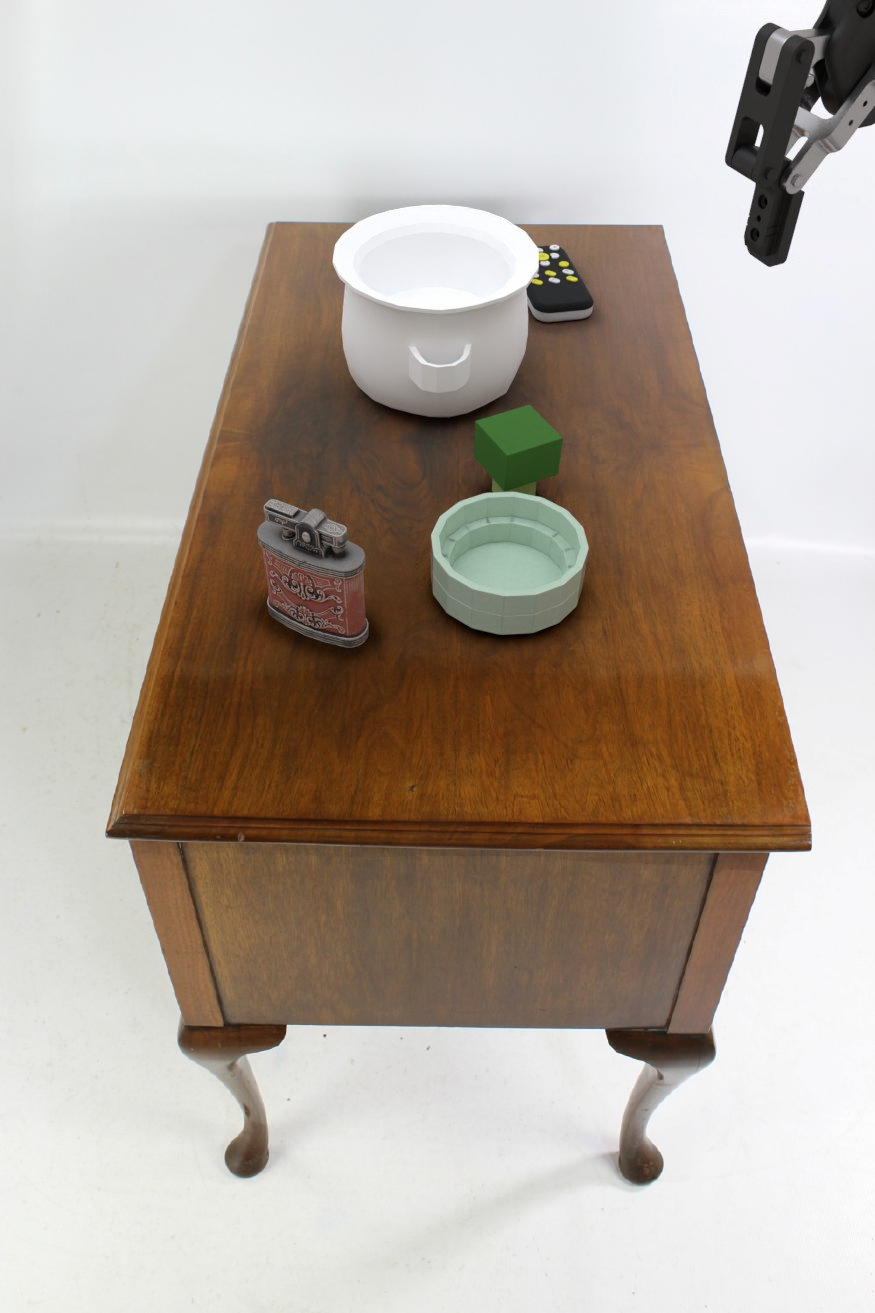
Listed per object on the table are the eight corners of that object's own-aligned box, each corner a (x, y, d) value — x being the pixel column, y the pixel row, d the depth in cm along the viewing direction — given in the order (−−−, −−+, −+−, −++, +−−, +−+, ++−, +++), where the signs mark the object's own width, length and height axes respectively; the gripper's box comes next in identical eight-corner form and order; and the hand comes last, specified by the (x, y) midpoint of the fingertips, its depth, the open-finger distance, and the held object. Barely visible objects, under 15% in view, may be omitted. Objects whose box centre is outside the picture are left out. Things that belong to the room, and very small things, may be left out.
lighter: (377, 625, 77) (373, 518, 70) (353, 655, 75) (346, 549, 68) (284, 587, 80) (271, 481, 72) (258, 616, 78) (242, 509, 70)
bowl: (531, 520, 85) (536, 475, 82) (609, 609, 79) (618, 564, 75) (405, 563, 82) (405, 518, 78) (476, 660, 75) (479, 615, 72)
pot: (347, 315, 106) (340, 193, 97) (520, 317, 106) (530, 195, 97) (334, 450, 91) (325, 320, 82) (536, 451, 91) (549, 322, 82)
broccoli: (523, 469, 90) (529, 403, 85) (555, 503, 87) (563, 437, 82) (471, 486, 88) (474, 420, 83) (501, 521, 85) (506, 455, 80)
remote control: (535, 325, 105) (537, 307, 104) (505, 263, 114) (506, 245, 112) (596, 319, 106) (598, 301, 105) (561, 258, 114) (563, 240, 113)
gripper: (880, -115, 37) (768, 308, 49) (1152, -151, 42) (989, 243, 54) (744, -159, 42) (672, 239, 54) (1004, -187, 47) (884, 185, 58)
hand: (831, 241), depth 54 cm, fingers open, 8 cm apart
